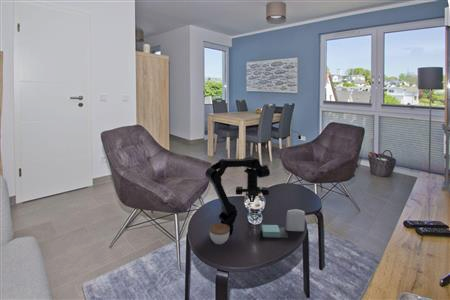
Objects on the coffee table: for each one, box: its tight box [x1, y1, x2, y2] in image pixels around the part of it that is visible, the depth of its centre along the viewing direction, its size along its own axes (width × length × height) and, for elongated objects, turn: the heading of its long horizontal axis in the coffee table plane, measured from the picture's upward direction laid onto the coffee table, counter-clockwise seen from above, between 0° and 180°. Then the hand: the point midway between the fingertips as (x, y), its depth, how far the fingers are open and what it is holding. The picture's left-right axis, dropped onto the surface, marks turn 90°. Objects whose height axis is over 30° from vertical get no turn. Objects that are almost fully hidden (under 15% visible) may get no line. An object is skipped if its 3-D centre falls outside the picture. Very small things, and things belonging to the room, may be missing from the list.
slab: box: [261, 224, 280, 238], centre depth 165 cm, size 3×8×9 cm
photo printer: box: [285, 209, 306, 232], centre depth 169 cm, size 10×4×12 cm, turn 86°
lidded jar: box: [208, 222, 230, 245], centre depth 156 cm, size 11×11×9 cm
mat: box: [265, 226, 289, 239], centre depth 167 cm, size 12×11×1 cm
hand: (251, 204), depth 173 cm, fingers closed
